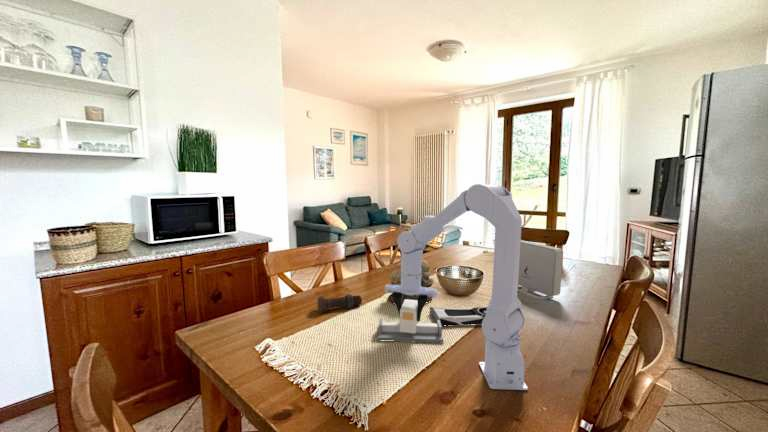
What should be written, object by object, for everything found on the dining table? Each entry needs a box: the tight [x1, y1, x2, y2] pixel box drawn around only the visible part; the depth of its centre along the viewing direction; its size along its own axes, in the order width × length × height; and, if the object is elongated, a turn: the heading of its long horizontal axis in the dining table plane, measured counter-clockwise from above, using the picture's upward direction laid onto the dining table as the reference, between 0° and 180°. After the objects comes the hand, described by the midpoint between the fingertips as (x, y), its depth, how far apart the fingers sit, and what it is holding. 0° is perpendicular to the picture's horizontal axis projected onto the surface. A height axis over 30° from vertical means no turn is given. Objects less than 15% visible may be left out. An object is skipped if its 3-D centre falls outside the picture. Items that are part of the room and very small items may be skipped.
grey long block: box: [377, 317, 444, 343], centre depth 90 cm, size 9×18×4 cm, turn 88°
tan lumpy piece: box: [387, 259, 435, 304], centre depth 116 cm, size 18×12×17 cm, turn 106°
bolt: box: [317, 293, 363, 314], centre depth 108 cm, size 6×5×15 cm
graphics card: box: [429, 306, 487, 327], centre depth 100 cm, size 10×3×25 cm
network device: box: [518, 239, 564, 300], centre depth 127 cm, size 26×9×20 cm, turn 25°
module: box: [399, 299, 420, 333], centre depth 89 cm, size 8×4×6 cm, turn 166°
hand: (409, 318), depth 90 cm, fingers closed on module, 4 cm apart
